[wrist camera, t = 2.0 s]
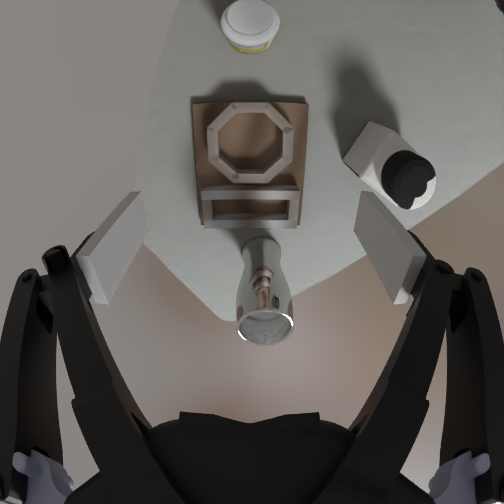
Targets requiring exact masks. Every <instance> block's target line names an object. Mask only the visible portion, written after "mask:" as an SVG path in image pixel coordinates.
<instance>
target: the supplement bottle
mask: <svg viewBox="0 0 504 504" xmlns="http://www.w3.org/2000/svg"><path fill="white" fill-rule="evenodd" d="M279 25H280V19H279V15H278V13H277V11H276V10H275V8H274V7H273V6H271V5H270V4H269V3H267V2H265V1H263V0H238V1H236V2H234V3H232V4H231V5H229V6H228V7H227V8H226V9H225V11H224V12H223V14H222V17H221V28H222V31H223V33H224V34H225V36H226V38H227V40H228V41H229V43H230V45H231V46H232V47H233V48H234V49H236V50H237V51H239V52H241V53H245V54H257V53H260V52H263V51H264V50H266V49H267V48H269V46H270V45H271V44H272V42H273V40H274V38H275V36H276V34H277V32H278V29H279Z"/></svg>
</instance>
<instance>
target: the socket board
mask: <svg viewBox="0 0 504 504" xmlns="http://www.w3.org/2000/svg"><path fill="white" fill-rule="evenodd" d="M192 107H193V128H194V145H195V160H196V173H197V185H198V197H199V208H200V218H201V225H204V228H297V225H300V217H301V207H302V196H303V184H304V172H305V158H306V144H307V127H308V107H309V104H305V103H290V102H263V101H239V102H211V103H197V104H192Z"/></svg>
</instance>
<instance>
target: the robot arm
mask: <svg viewBox="0 0 504 504" xmlns="http://www.w3.org/2000/svg"><path fill="white" fill-rule="evenodd" d="M495 2H496V3H497V7H498V8H499V10H500V11H501V12H502V13H503V14H504V0H495ZM148 232H149V228H148V223H147V218H146V213H145V208H144V203H143V198H142V192H141V191H140V192H130V193H129V194H128V195H127V196H126V197H125V198H124V199H123V201H122V202H121V203H120V204H119V205H118V206H117V207H116V208H115V209H114V210H113V212H112V213H111V214H110V215H109V216H108V217H107V218H106V220H105V221H104V222H103V223H102V224H101V225H100V226H99V228H98V229H97V230H96V231H94V232H93V233H91V234H90V235H88V236H87V237H86V238H85V240H84V241H83V242H82V244H81V245H80V246H79V248H77V249H76V251H75V252H74V253H73V255H72V256H71V257H69V254H68V252H67V249H66V247H65V246H63V245H58V246H55V247H52V248H50V249H49V250H47V251H46V252H45V253H44V255H43V256H42V261H43V264H44V266H45V267H46V270H47V272H48V275H43V276H39V274H38V272H37V270H36V269H28V270H25V271H24V272H23V273H22V274H21V275H20V276H19V277H18V279H17V282H16V285H15V288H14V291H13V294H12V297H11V301H10V304H9V307H8V311H7V315H6V319H5V323H4V327H3V331H2V336H1V341H0V501H2V502H5V503H8V504H500V503H503V502H504V342H503V337H502V332H501V328H500V324H499V320H498V316H497V312H496V308H495V305H494V301H493V298H492V294H491V291H490V288H489V285H488V282H487V279H486V277H485V276H484V274H483V273H482V272H481V271H480V270H478V269H475V268H471V267H470V268H467V269H466V271H465V273H464V275H460V274H456V273H454V270H453V268H452V267H451V266H450V265H449V264H448V263H446V262H444V261H441V260H436V259H434V257H433V256H432V255H431V254H430V252H429V251H428V250H427V248H426V247H424V245H423V243H422V242H421V241H420V240H419V239H418V237H417V236H416V235H414V234H413V233H412V232H410V231H409V230H406V229H405V228H404V227H403V225H402V224H401V223H400V222H399V221H398V220H397V218H396V217H395V216H394V215H393V214H392V213H391V212H390V210H389V209H388V208H387V207H386V206H385V205H384V204H383V203H382V202H381V200H380V199H379V198H378V197H377V196H376V195H375V194H374V193H373V192H368V191H361V195H360V201H359V206H358V212H357V217H356V222H355V227H354V232H355V234H356V235H357V237H358V239H359V241H360V242H361V244H362V246H363V248H364V249H365V251H366V253H367V255H368V256H369V258H370V260H371V262H372V264H373V266H374V268H375V269H376V271H377V273H378V275H379V277H380V279H381V281H382V282H383V285H384V287H385V289H386V291H387V293H388V295H389V297H390V299H391V301H392V303H393V304H403V303H407V301H408V299H409V296H410V294H412V296H413V298H414V301H413V303H412V305H411V307H410V309H409V311H408V313H407V315H406V317H407V318H406V321H405V323H404V325H403V328H402V330H401V332H400V335H399V337H398V340H397V342H396V344H395V346H394V348H393V351H392V353H391V355H390V357H389V359H388V361H387V364H386V366H385V367H384V369H383V371H382V373H381V376H380V377H379V379H378V381H377V383H376V385H375V387H374V389H373V390H372V392H371V394H370V396H369V397H368V399H367V401H366V403H365V404H364V406H363V408H362V409H361V411H360V413H359V414H358V416H357V417H356V419H355V420H354V421H353V423H352V424H351V426H350V427H349V428H348V429H346V428H344V427H342V426H340V425H338V424H336V423H333V422H329V421H324V420H320V416H319V412H316V413H315V412H314V413H302V414H287V415H283V416H279V417H275V418H272V419H267V420H263V421H259V422H255V423H244V422H240V421H236V420H232V419H228V418H225V417H221V416H217V415H214V414H202V413H190V412H180V415H179V419H177V420H172V421H168V422H165V423H162V424H159V425H157V426H156V427H154V428H152V426H151V425H150V423H149V422H148V421H147V420H146V418H145V417H144V415H143V414H142V412H141V410H140V409H139V407H138V405H137V403H136V402H135V400H134V398H133V397H132V394H131V393H130V391H129V389H128V387H127V385H126V383H125V381H124V379H123V378H122V376H121V373H120V371H119V369H118V367H117V365H116V363H115V361H114V359H113V357H112V355H111V353H110V350H109V348H108V346H107V343H106V341H105V339H104V336H103V334H102V332H101V329H100V327H99V324H98V322H97V319H96V317H95V314H94V311H93V309H92V306H91V304H90V302H89V298H90V297H91V295H93V297H94V299H95V302H96V303H100V304H110V302H111V300H112V298H113V296H114V294H115V292H116V290H117V288H118V286H119V284H120V282H121V280H122V278H123V276H124V274H125V272H126V271H127V269H128V267H129V265H130V263H131V262H132V260H133V258H134V256H135V254H136V253H137V251H138V249H139V247H140V246H141V244H142V242H143V240H144V239H145V237H146V235H147V234H148ZM445 329H446V338H447V390H446V407H445V417H444V425H443V433H442V440H441V448H440V463H439V469H438V470H437V471H436V473H435V475H434V477H433V478H432V479H431V480H430V482H429V489H430V490H431V491H430V493H429V494H427V493H426V492H425V491H423V490H422V489H421V488H419V487H418V486H417V485H415V484H414V483H413V482H411V481H410V480H409V479H408V478H406V477H405V476H404V475H402V474H401V473H400V470H401V468H402V466H403V465H404V463H405V461H406V459H407V457H408V455H409V453H410V451H411V448H412V446H413V444H414V442H415V440H416V438H417V435H418V433H419V431H420V428H421V426H422V424H423V421H424V418H425V416H426V413H427V411H428V407H429V401H428V400H426V395H427V392H428V389H429V386H430V384H431V381H432V377H433V374H434V371H435V367H436V364H437V361H438V357H439V353H440V350H441V346H442V342H443V337H444V333H445ZM57 333H58V337H59V342H60V346H61V350H62V354H63V358H64V362H65V365H66V369H67V372H68V376H69V379H70V382H71V385H72V388H73V391H74V394H75V399H73V400H72V402H71V404H72V408H73V411H74V413H75V416H76V419H77V421H78V424H79V427H80V429H81V431H82V434H83V436H84V438H85V441H86V443H87V445H88V447H89V450H90V452H91V454H92V456H93V458H94V460H95V462H96V464H97V466H98V468H99V470H100V471H99V472H98V473H97V474H96V475H94V476H93V477H92V478H90V479H89V480H88V481H86V482H85V483H84V484H83V485H81V486H80V487H79V488H77V489H76V490H74V491H73V492H72V488H73V480H72V479H71V477H70V476H68V474H67V472H66V470H65V469H64V467H63V451H62V444H61V443H62V442H61V435H60V427H59V418H58V408H57V390H56V343H57Z"/></svg>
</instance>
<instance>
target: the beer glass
mask: <svg viewBox="0 0 504 504" xmlns="http://www.w3.org/2000/svg"><path fill="white" fill-rule="evenodd" d="M242 258H243V262H244V270H243V273H242V277H241V280H240V283H239V286H238V291H237V297H236V322H237V333H238V335H239V336H240V337H241V338H242V339H243V340H245V341H246V342H248V343H251V344H255V345H273V344H277V343H279V342H282V341H284V340H285V339H287V338H288V337H289V336H290V335H291V333H292V332H293V329H294V323H293V305H292V297H291V292H290V289H289V286H288V283H287V280H286V278H285V276H284V273H283V271H282V269H281V266H280V260H281V249H280V247H279V245H278V244H277V243H276V242H275V241H274V240H272V239H270V238H266V237H258V238H254V239H252V240H250V241H248V242H247V243H246V244H245V246H244V247H243V250H242Z"/></svg>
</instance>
